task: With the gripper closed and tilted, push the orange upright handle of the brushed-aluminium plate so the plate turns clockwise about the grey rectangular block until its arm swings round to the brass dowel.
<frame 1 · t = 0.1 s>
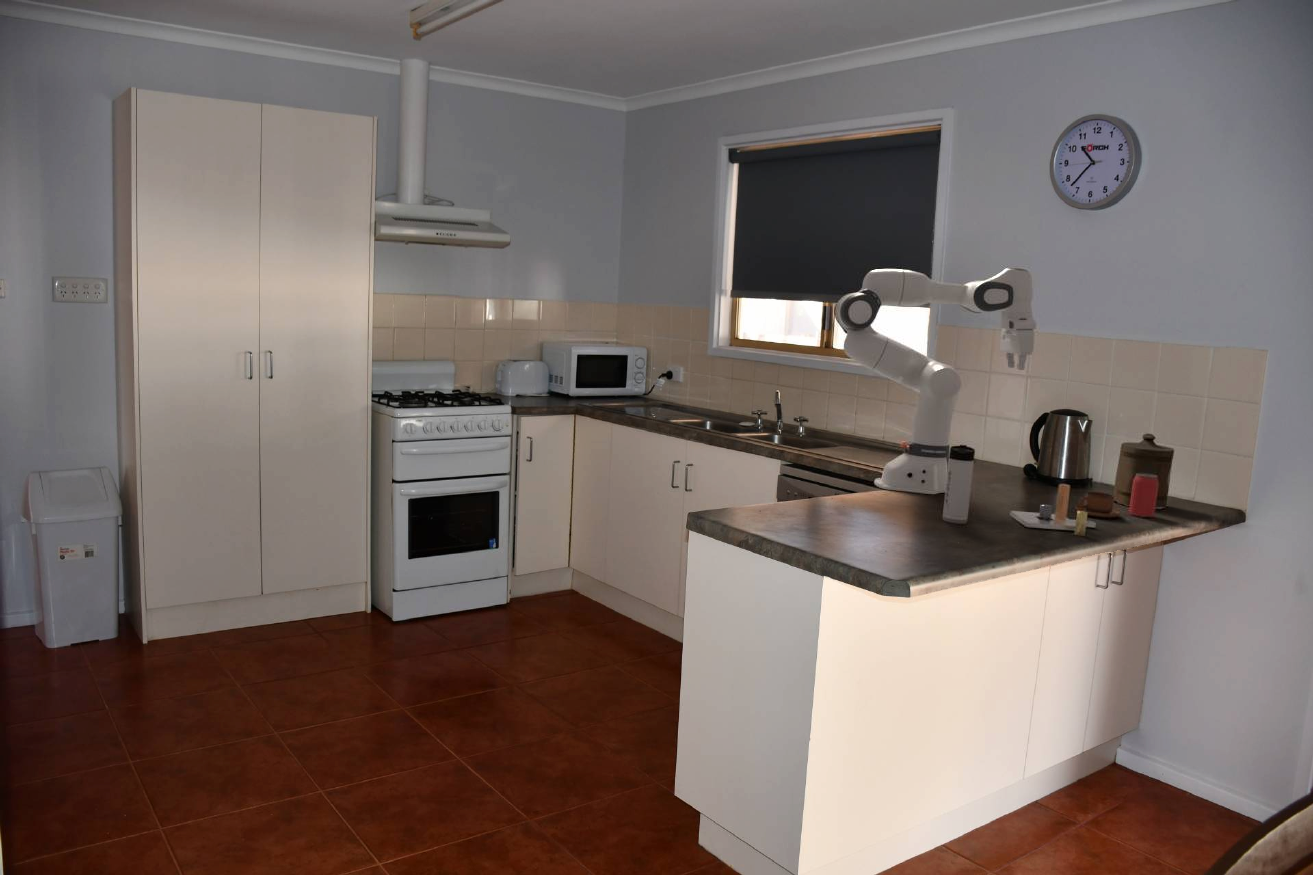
hand: (1015, 368, 298), 39 cm above the worktop, tool pointing down, fingers open, 8 cm apart
grey rectangular block: (1044, 523, 264), on the worktop
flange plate: (1057, 505, 263), point 5 cm above the worktop, hinge at 0.0°
brass dowel: (1079, 534, 253), on the worktop
travel mug: (954, 521, 260), on the worktop
beer can: (1141, 516, 284), on the worktop
wooden container: (1138, 505, 302), on the worktop
cup and saucer: (1097, 516, 281), on the worktop
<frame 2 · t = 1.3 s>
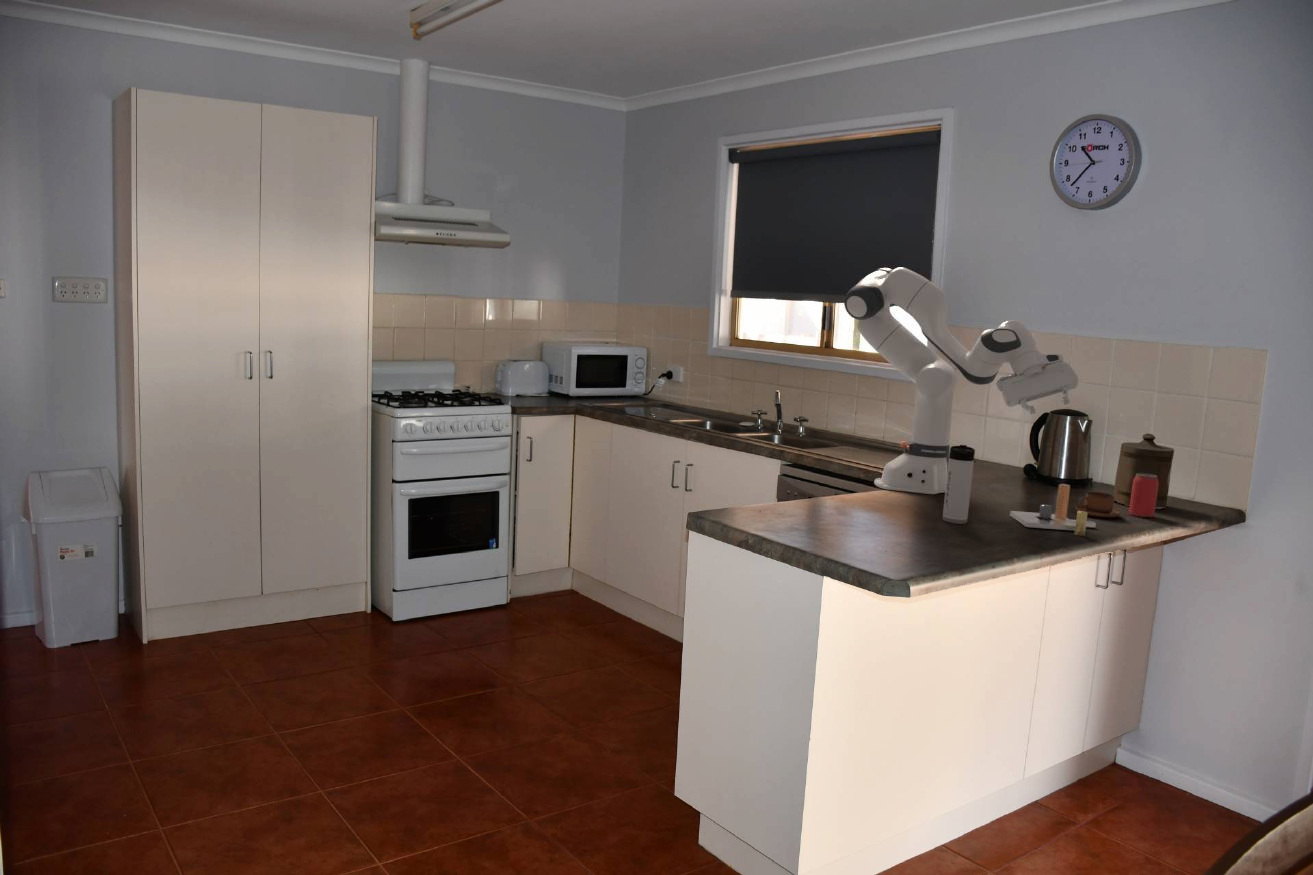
hand: (1049, 408, 272), 30 cm above the worktop, tool tilted 45°, fingers open, 8 cm apart
nothing on the worktop moved.
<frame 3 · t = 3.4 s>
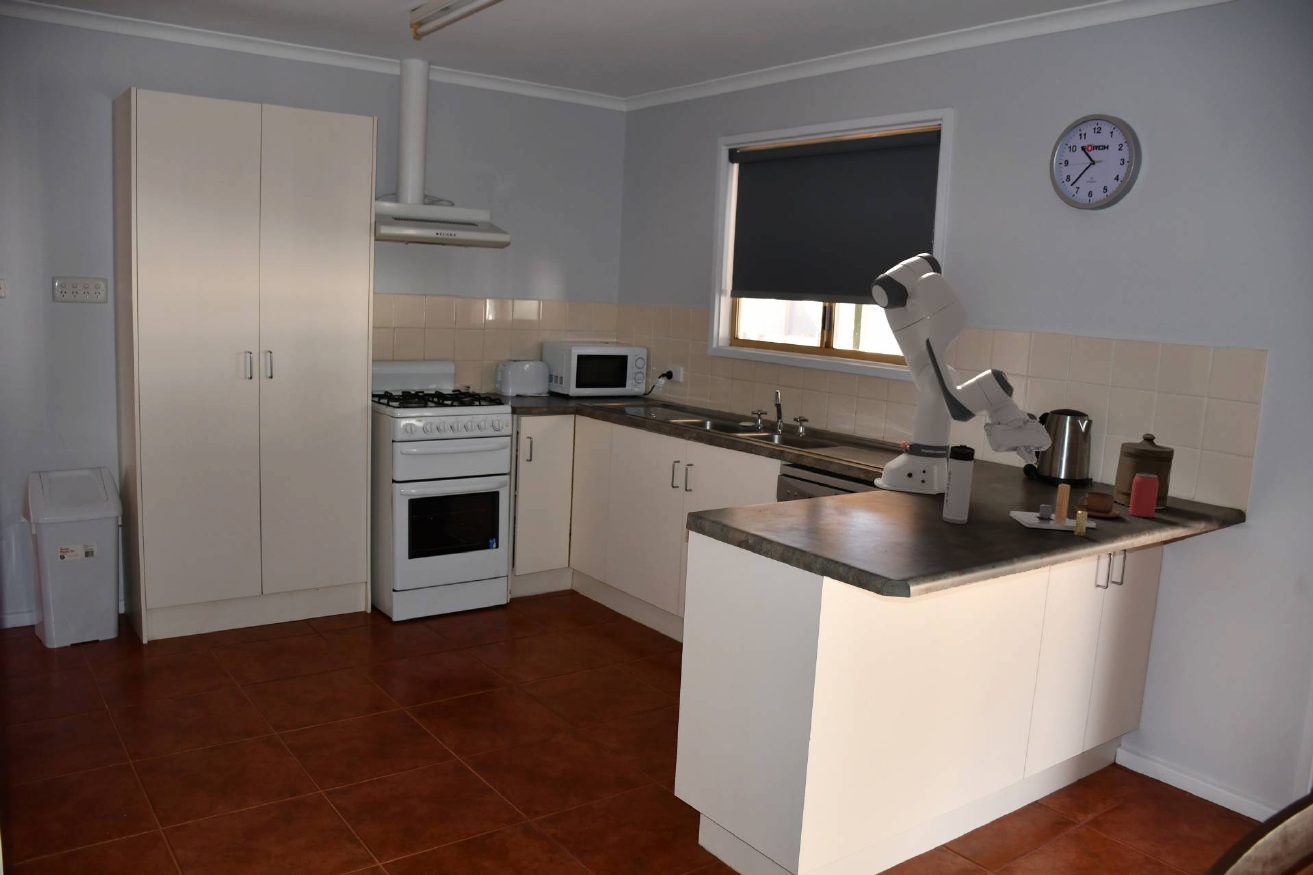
hand: (1031, 462, 274), 15 cm above the worktop, tool tilted 45°, fingers closed
nothing on the worktop moved.
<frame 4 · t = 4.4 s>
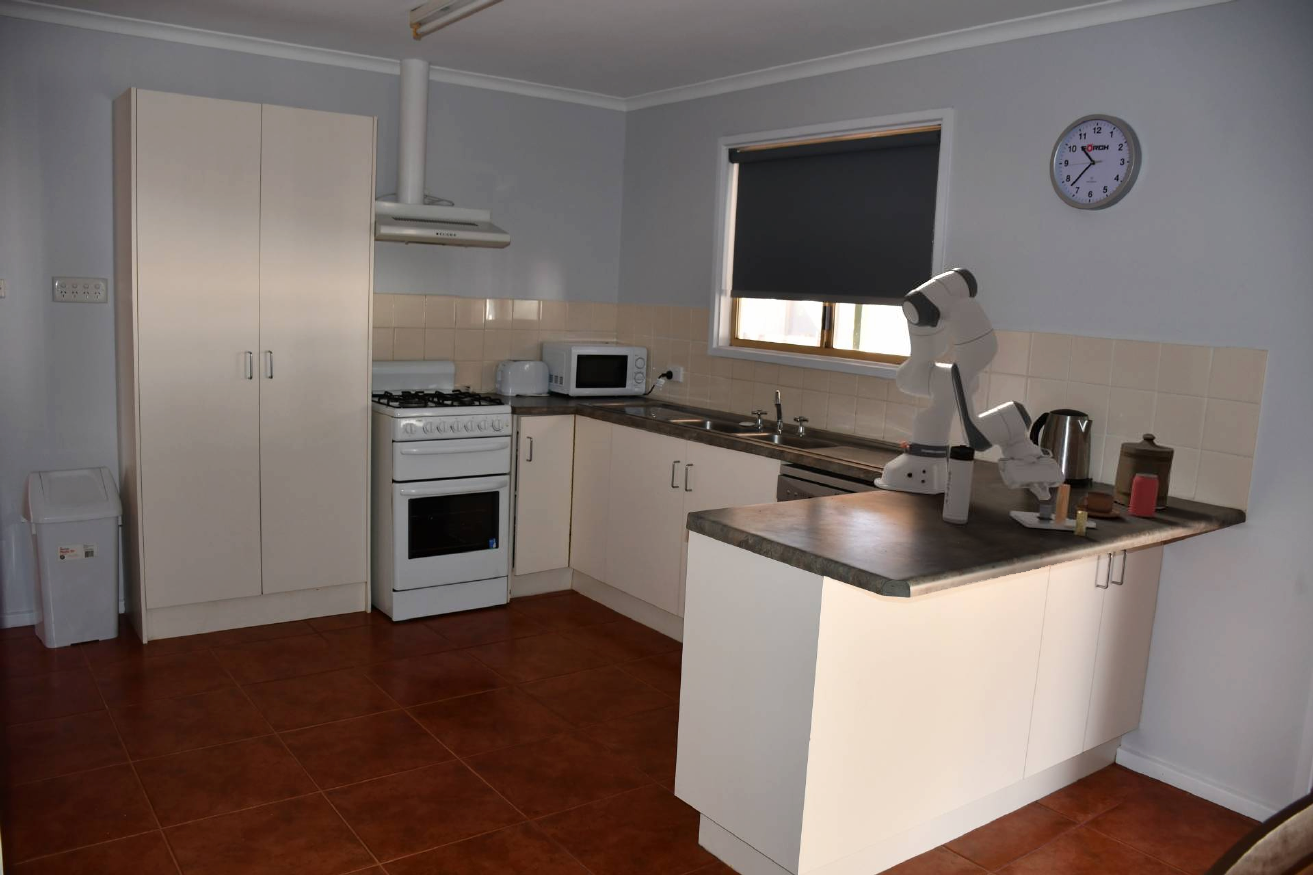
hand: (1045, 498, 270), 6 cm above the worktop, tool tilted 45°, fingers closed
nothing on the worktop moved.
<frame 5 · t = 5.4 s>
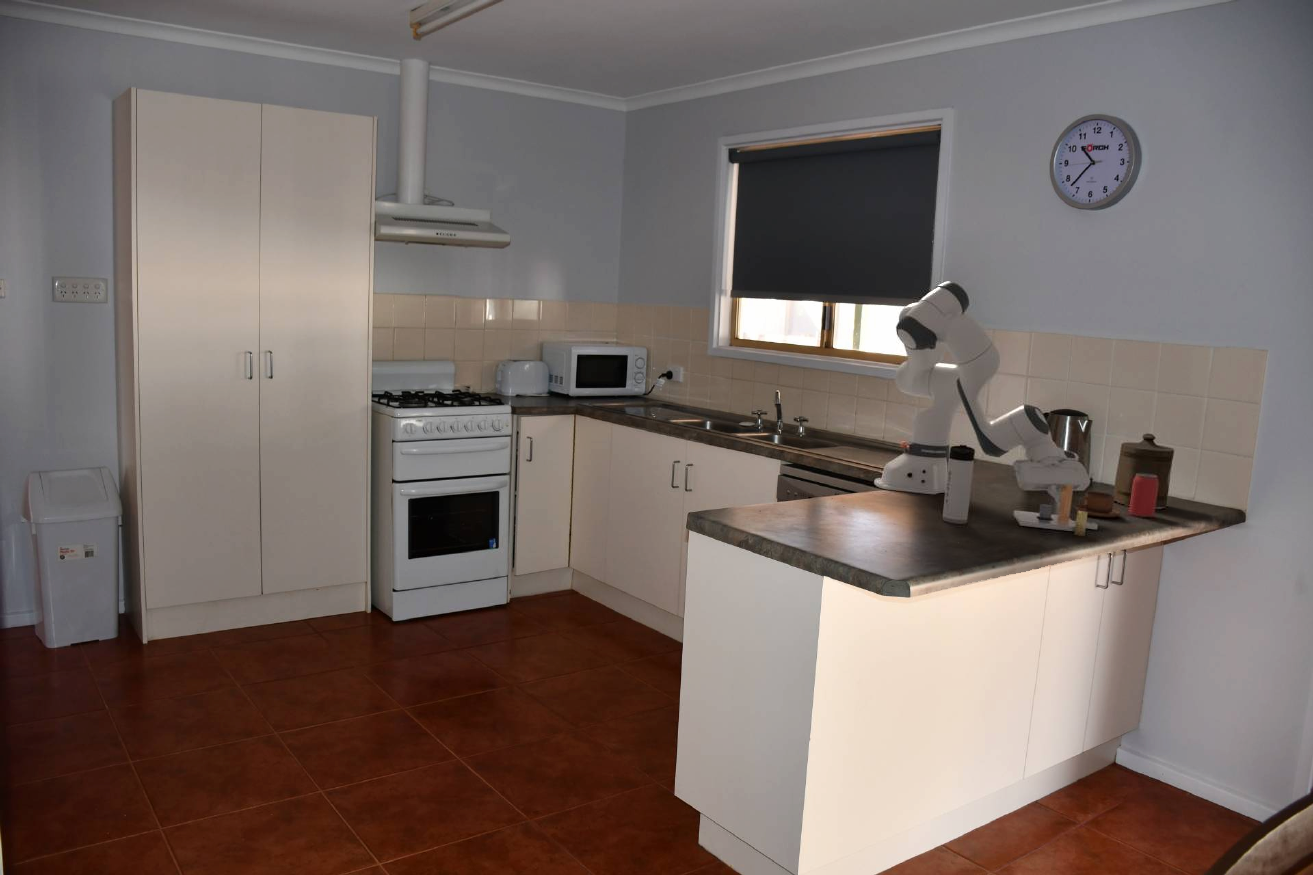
hand: (1062, 501, 266), 6 cm above the worktop, tool tilted 45°, fingers closed, pressing on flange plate
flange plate: (1058, 505, 262), point 5 cm above the worktop, hinge at 10.5°, touching gripper
everything else where it was.
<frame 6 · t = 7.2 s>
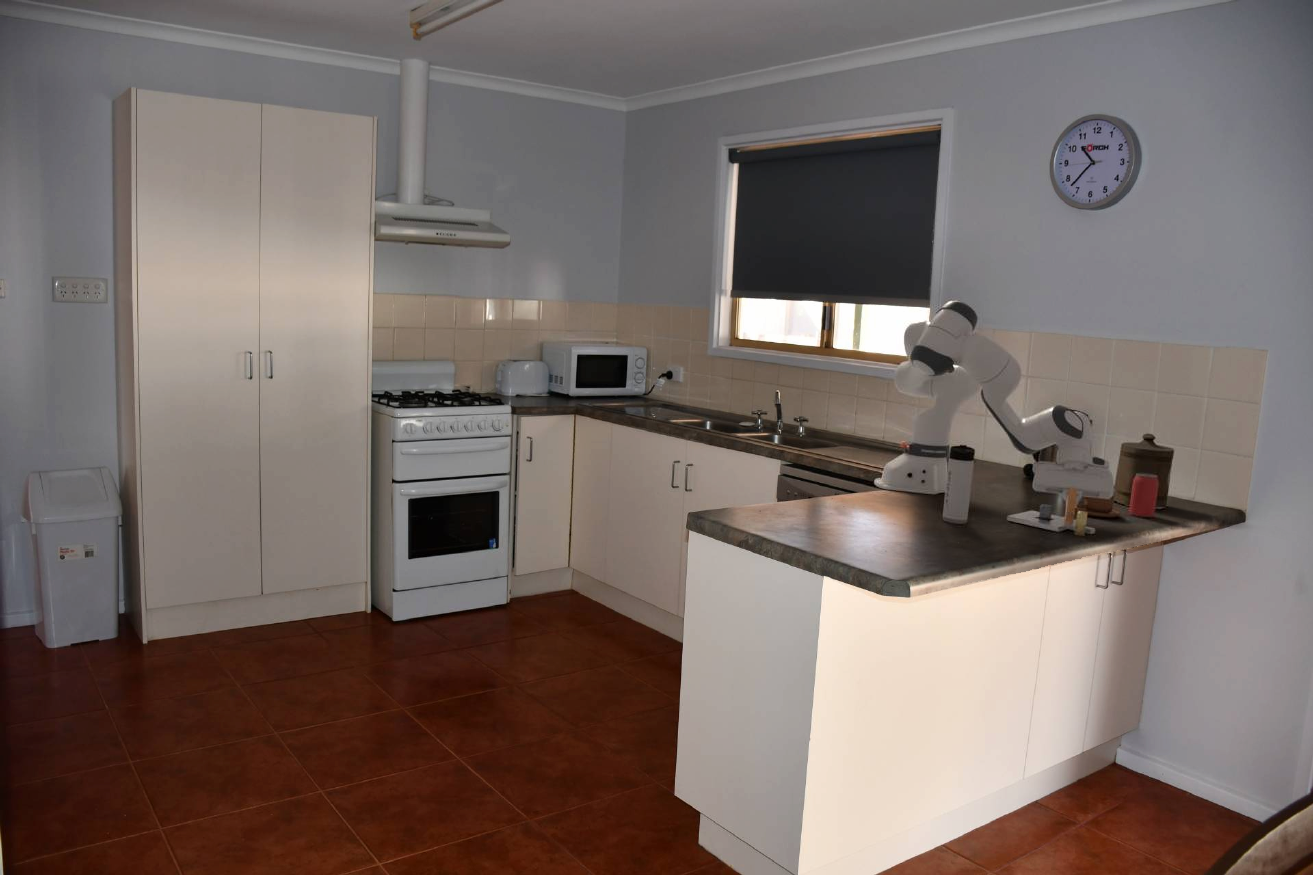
hand: (1071, 506, 263), 5 cm above the worktop, tool tilted 45°, fingers closed, pressing on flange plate
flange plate: (1057, 506, 261), point 5 cm above the worktop, hinge at 44.0°, touching gripper
everything else where it was.
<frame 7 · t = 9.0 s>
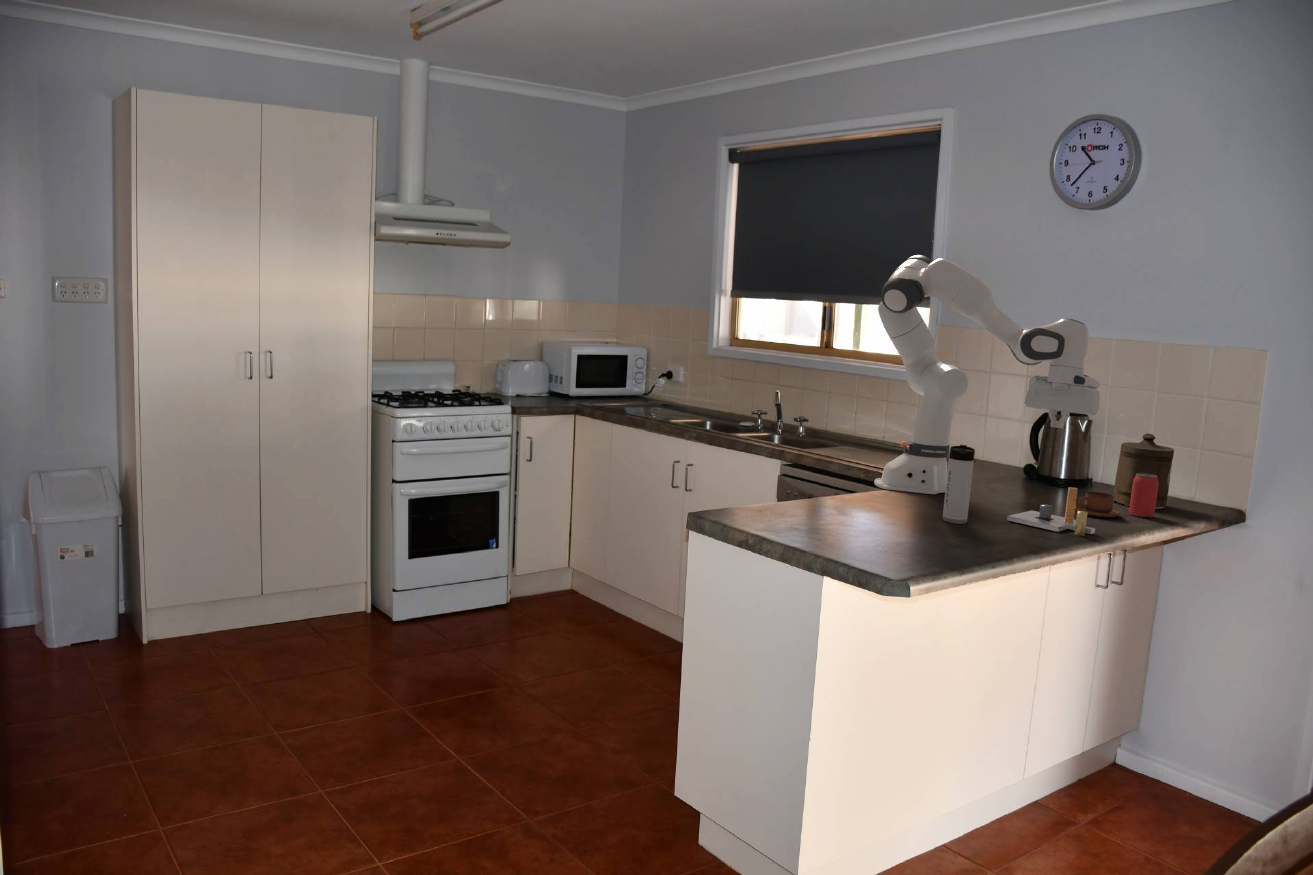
hand: (1056, 427, 274), 25 cm above the worktop, tool pointing down, fingers closed
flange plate: (1057, 506, 261), point 5 cm above the worktop, hinge at 44.0°
everything else where it was.
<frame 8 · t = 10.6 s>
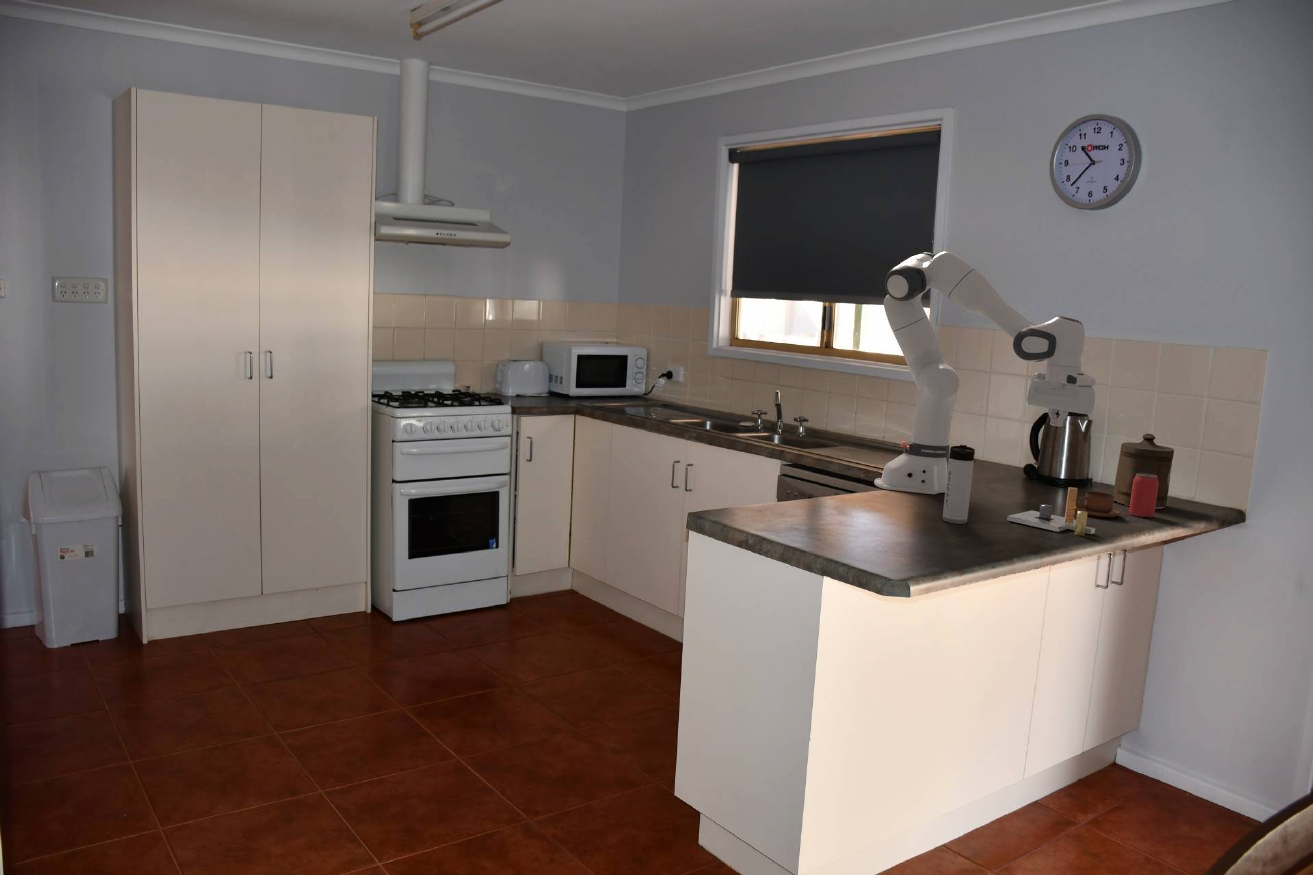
hand: (1056, 425, 274), 25 cm above the worktop, tool pointing down, fingers closed
nothing on the worktop moved.
at the end: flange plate at +44° (first picture: +0°) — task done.
